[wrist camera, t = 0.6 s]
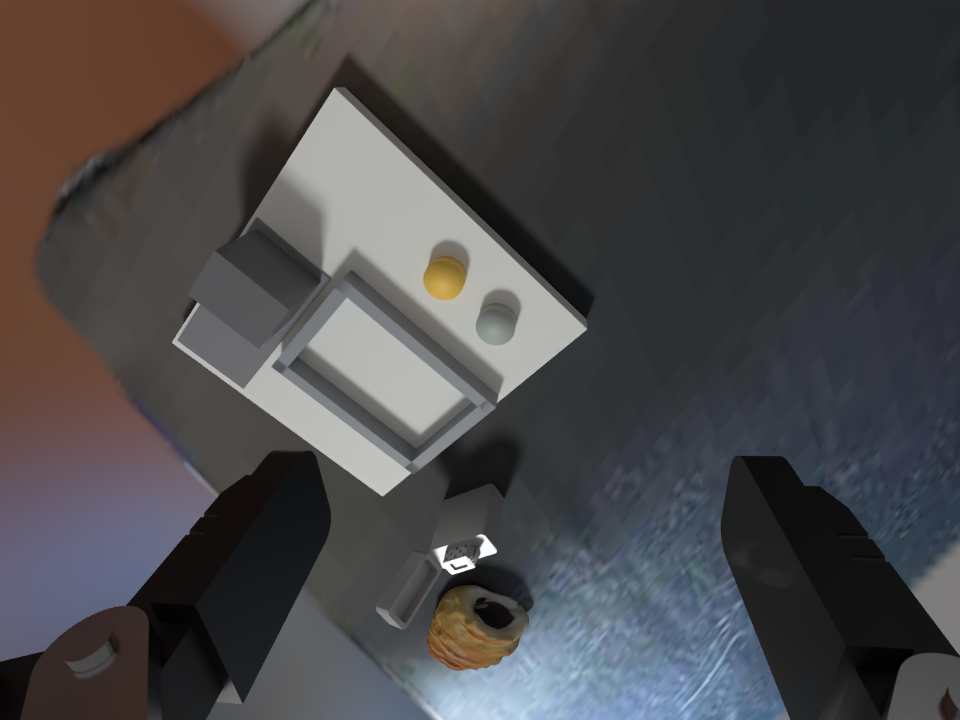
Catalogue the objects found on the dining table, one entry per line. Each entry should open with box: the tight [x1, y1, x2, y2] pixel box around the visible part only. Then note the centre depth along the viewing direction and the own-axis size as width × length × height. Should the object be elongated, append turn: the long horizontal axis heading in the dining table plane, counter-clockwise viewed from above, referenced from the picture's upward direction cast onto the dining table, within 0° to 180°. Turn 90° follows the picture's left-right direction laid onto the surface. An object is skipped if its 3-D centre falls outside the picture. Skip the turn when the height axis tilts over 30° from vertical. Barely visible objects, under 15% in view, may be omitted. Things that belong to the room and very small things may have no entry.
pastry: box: [428, 585, 529, 670], centre depth 40 cm, size 9×7×4 cm
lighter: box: [376, 484, 504, 629], centre depth 32 cm, size 7×2×8 cm, turn 122°
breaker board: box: [172, 87, 587, 497], centre depth 28 cm, size 18×16×2 cm
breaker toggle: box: [187, 229, 320, 349], centre depth 25 cm, size 3×4×4 cm
